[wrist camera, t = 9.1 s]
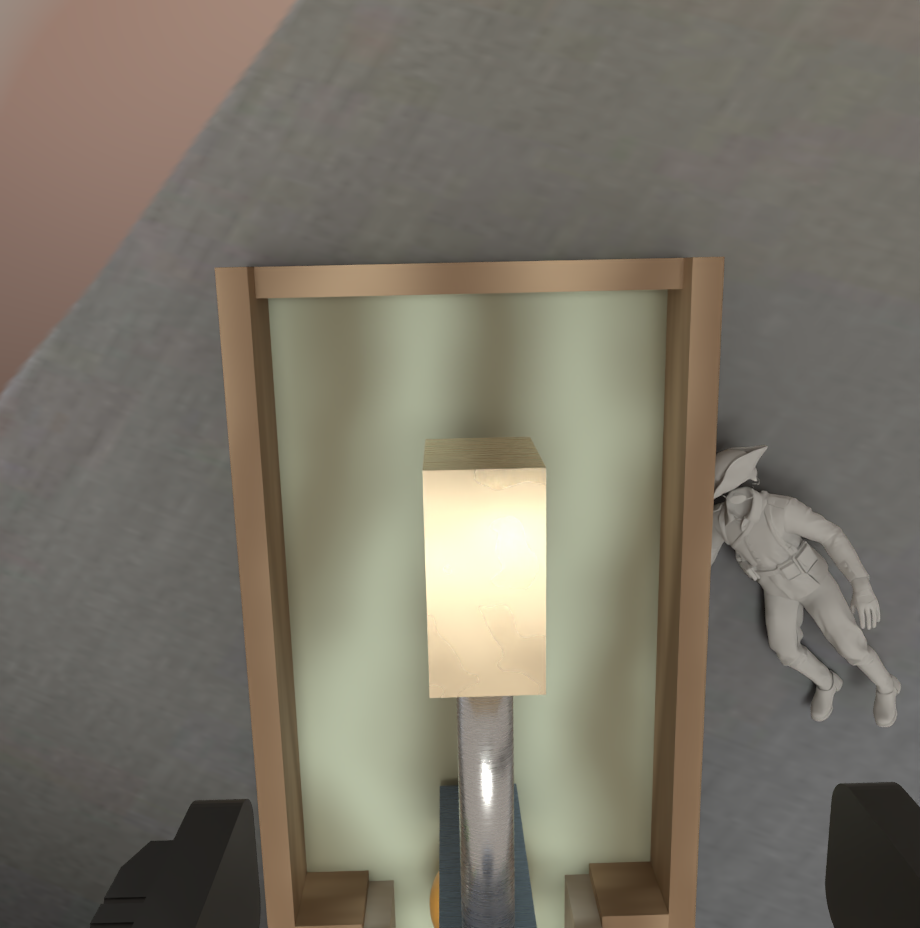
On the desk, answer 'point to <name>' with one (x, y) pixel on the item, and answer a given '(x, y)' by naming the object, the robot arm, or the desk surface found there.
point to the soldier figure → (799, 580)
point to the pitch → (404, 574)
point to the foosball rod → (484, 660)
